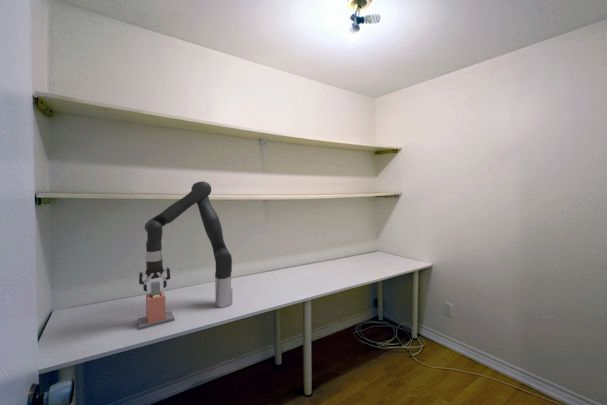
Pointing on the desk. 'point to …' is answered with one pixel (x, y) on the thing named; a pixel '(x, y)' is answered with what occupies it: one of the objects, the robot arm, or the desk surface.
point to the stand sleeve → (155, 312)
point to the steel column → (155, 288)
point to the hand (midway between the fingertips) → (155, 289)
